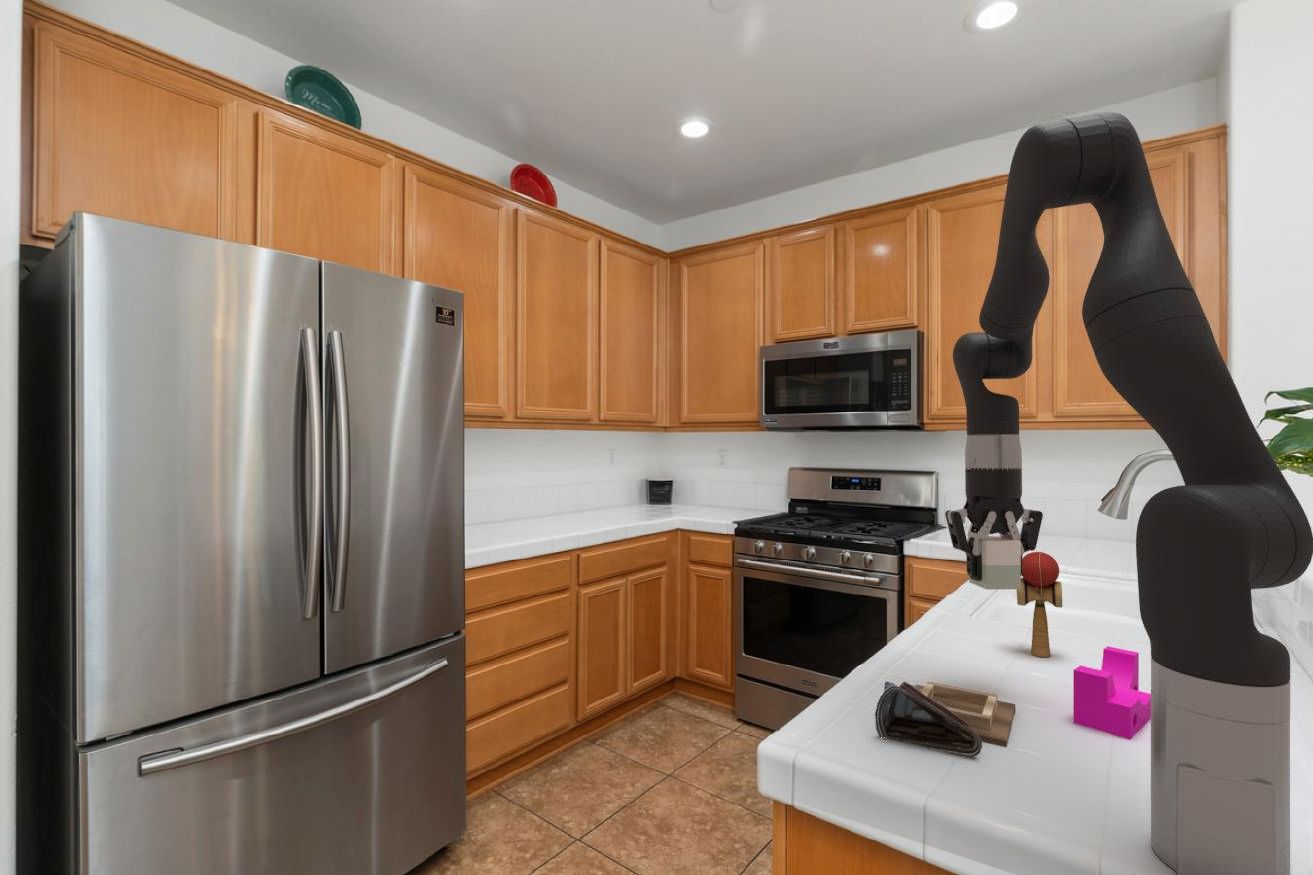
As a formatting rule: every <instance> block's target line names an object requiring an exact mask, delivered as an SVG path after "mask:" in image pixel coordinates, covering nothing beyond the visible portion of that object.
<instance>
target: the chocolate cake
mask: <svg viewBox="0 0 1313 875" xmlns="http://www.w3.org/2000/svg"><path fill="white" fill-rule="evenodd" d="M883 687H884V691H883V692H882V694H881V695H880V698H879V699H878V702H877V703H876V704H877V705H876V709H875V713H874V720H875V721H874V722H875V730H876V733H877V735H878V737H879V739H880V738H881V737H882V739H885V738H884V737H888V738H887V739H891V738H892V739H891V740H896V741H899V742H904V743H907V744H911V745H914V746H915V745H916V746H920V747H923V748H926V749H930V750H935V751H937V752H942V753H946V754H950V755H954V756H957V757H964V758H974V757H978V756H979V755H980V754H981V750H982V749H983V742H982V741H981V739H980V737H979V735H978V734H977V733H976V732H975V731H974V730H972V729H971V728H970V727H969V725H968V724H967V722H965V721H964V720H963V719H962V718H960V717H959V716H957V715H956V714H955V713H953V712H951V711H950V710H949V709H947V708H946V707H945V705H944V704H943V703H942V702H940V701H938V702H935V701H934V700H933V699H931V698H930V697H928V696H926V695H924V694H923V693H922V692H921V691H920V690H919V688H918V687H917V686H915V685H913V684H911V683H908V682H906V681H902V682H901V684H900V685H899V686H898V685H896V684H895V683H893V682H891V681H885V682H884V686H883Z"/></svg>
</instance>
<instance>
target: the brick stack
mask: <svg viewBox="0 0 1313 875" xmlns="http://www.w3.org/2000/svg"><path fill="white" fill-rule="evenodd" d="M979 555H980V556H982V580H981V581H975V580H973V579H971V578H970V576H969V575H968V578H969V579H968V582H969V583H970V584H972V585H975V586H977V587H980V588H982V589H984V590H991V591H992V590H1017V589H1021V578H1022V575H1021V552H1020V541H1018V540H1011V539H1007V538H1003V537H1000V535H998V536H997V535H988V538H987V540H983V541H982V550H981V552H980V554H979Z"/></svg>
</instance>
